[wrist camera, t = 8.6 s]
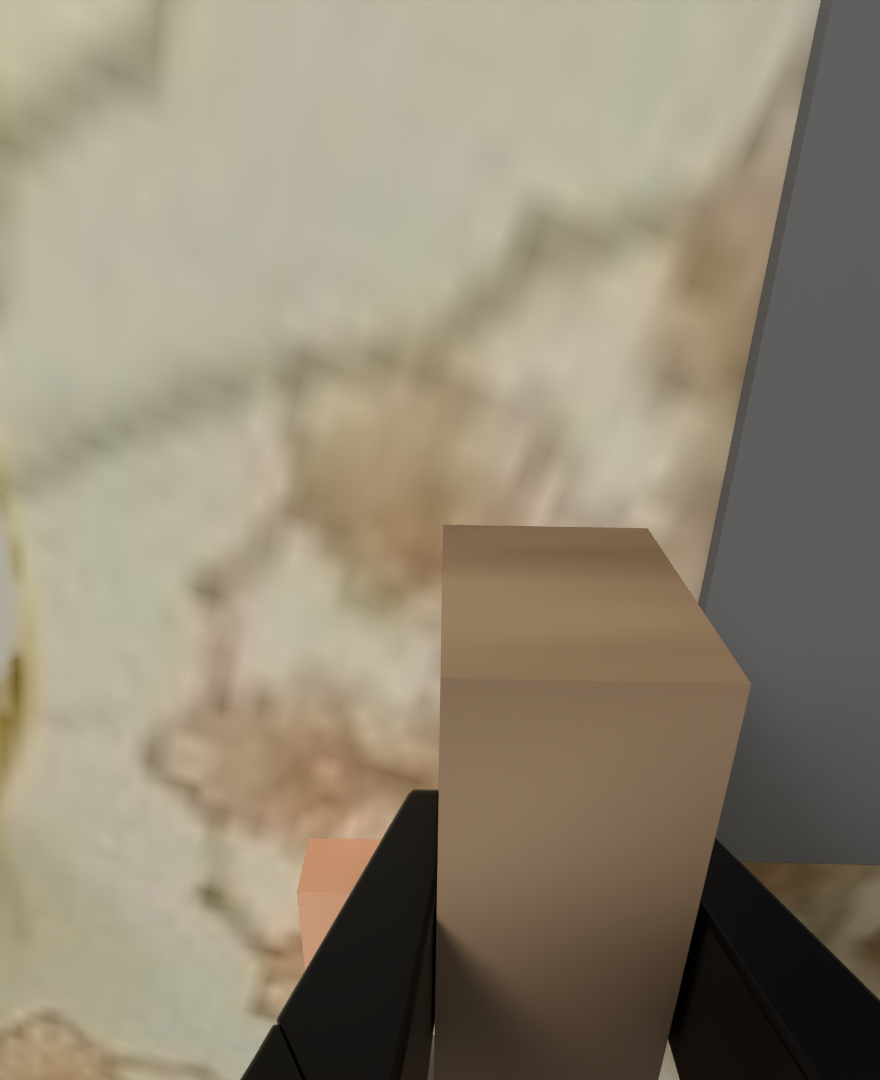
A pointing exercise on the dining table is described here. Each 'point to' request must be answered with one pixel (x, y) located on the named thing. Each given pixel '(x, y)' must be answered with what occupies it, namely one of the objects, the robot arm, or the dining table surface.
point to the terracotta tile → (328, 885)
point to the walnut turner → (572, 799)
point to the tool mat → (811, 486)
